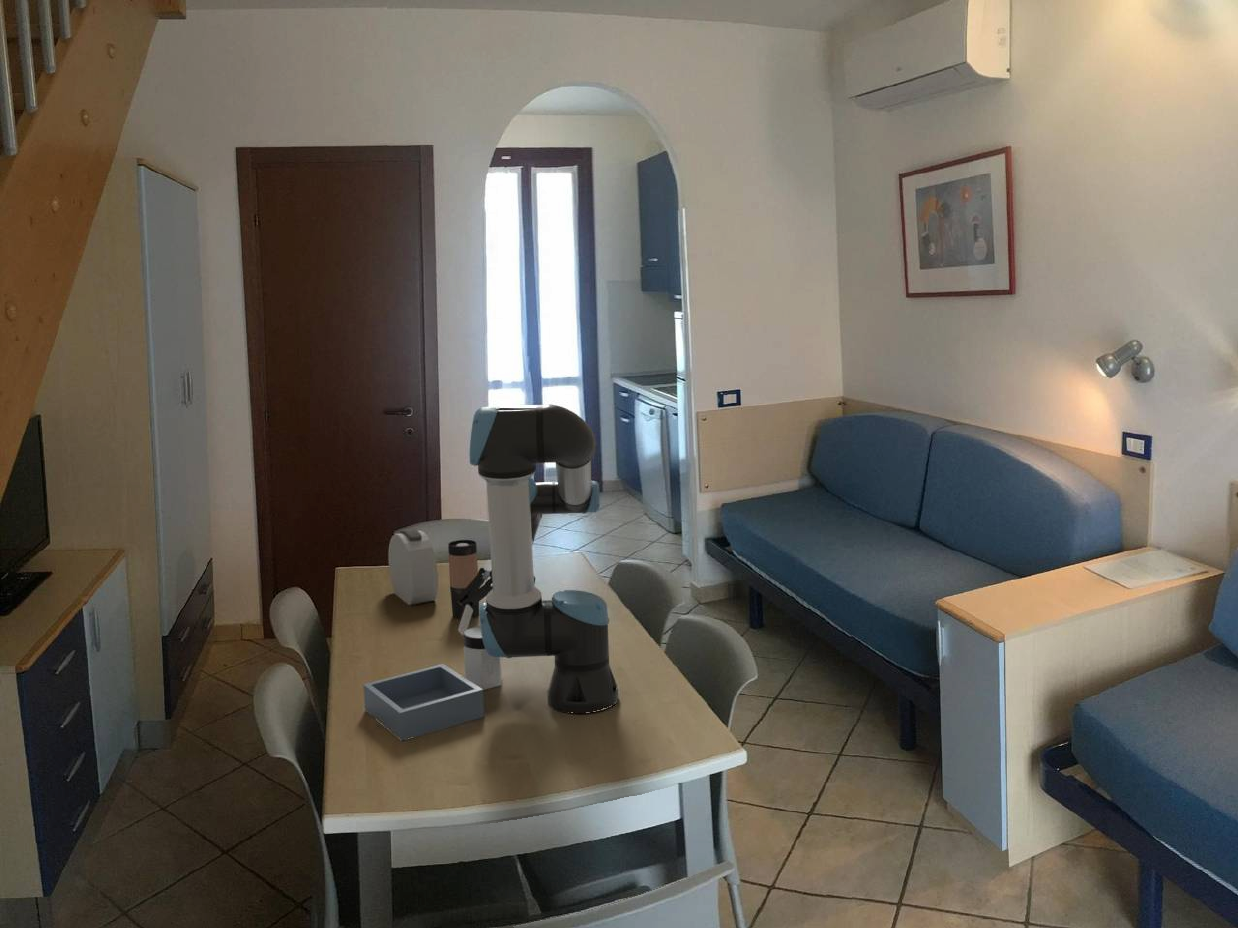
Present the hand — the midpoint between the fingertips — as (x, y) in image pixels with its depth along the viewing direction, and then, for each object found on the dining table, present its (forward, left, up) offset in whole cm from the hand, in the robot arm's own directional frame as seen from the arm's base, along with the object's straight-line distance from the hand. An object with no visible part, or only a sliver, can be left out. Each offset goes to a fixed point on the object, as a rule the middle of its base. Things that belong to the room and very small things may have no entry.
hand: (488, 635), depth 233 cm
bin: (-10, +21, -10) cm, 25 cm away
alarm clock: (+66, -12, -10) cm, 68 cm away
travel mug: (+42, -16, -10) cm, 46 cm away
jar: (-3, +3, -10) cm, 11 cm away
